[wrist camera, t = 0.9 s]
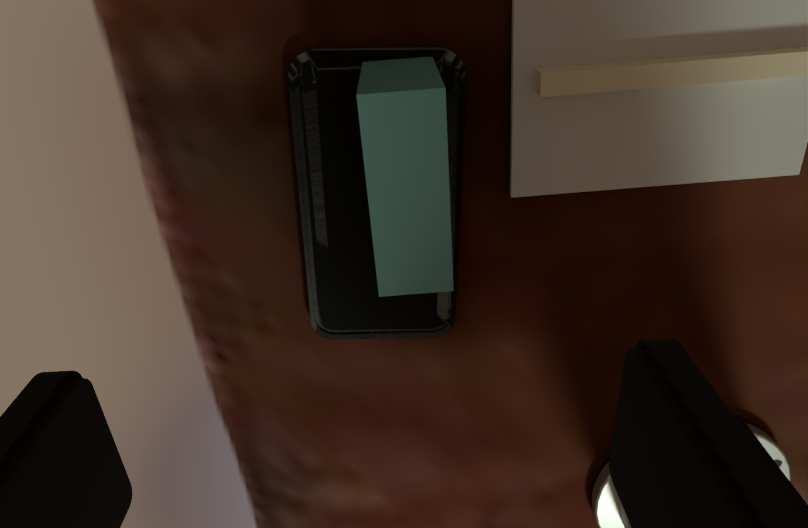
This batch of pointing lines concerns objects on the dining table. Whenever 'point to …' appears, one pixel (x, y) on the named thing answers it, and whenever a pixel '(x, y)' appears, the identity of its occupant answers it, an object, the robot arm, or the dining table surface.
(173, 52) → the dining table surface
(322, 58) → the phone
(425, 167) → the teal rectangular block
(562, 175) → the slot mat
